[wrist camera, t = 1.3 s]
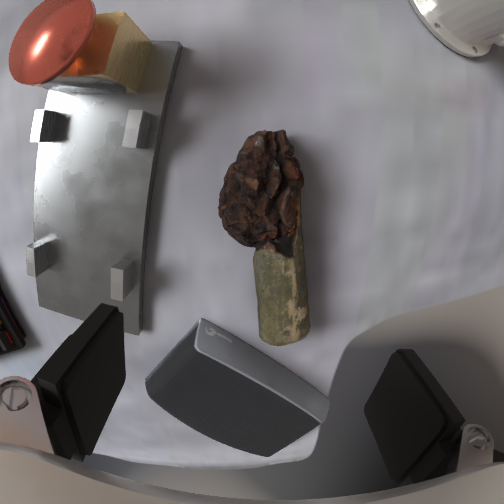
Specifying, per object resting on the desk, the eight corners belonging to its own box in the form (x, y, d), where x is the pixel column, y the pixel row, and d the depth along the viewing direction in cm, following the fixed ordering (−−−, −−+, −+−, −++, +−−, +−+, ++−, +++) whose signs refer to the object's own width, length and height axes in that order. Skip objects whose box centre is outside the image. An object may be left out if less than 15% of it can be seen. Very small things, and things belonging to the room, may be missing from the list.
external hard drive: (206, 309, 29) (200, 331, 25) (334, 395, 33) (341, 418, 29) (143, 378, 32) (133, 401, 28) (263, 444, 36) (264, 466, 32)
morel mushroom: (306, 317, 29) (317, 350, 24) (239, 324, 29) (237, 358, 24) (293, 131, 24) (305, 123, 18) (215, 139, 24) (205, 133, 19)
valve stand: (184, 39, 21) (149, -23, 10) (142, 329, 29) (103, 400, 19) (68, 44, 20) (4, 12, 9) (44, 301, 28) (-11, 350, 18)
